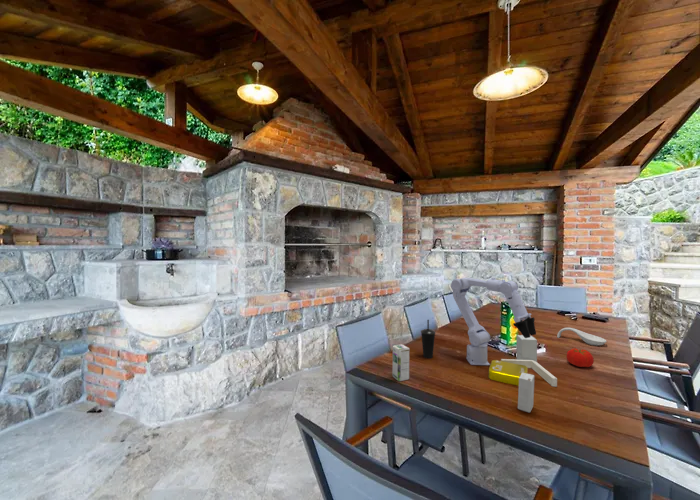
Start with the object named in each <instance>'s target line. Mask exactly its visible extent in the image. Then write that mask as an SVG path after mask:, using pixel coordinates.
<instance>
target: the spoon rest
mask: <svg viewBox="0 0 700 500" xmlns="http://www.w3.org/2000/svg"><path fill="white" fill-rule="evenodd" d="M564 331H571V332H573V333H574V334H577V336H578V337H579V338H580V339H581V340H582V341H583V342H585V344H587V345H591V346H595V347H596V346H602V345H605V344H606V343H607V339H605V338H603V337H601V336H597V335H594V334H591V333H587V332H584V331H582V330H579V329H577V328H574V327H563V328H561V329H560V330H559V331H558V332H557V335H556V336H557V337H556V338H559V339H560V337H561V336H562V332H564Z"/></svg>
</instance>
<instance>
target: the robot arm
mask: <svg viewBox="0 0 700 500" xmlns="http://www.w3.org/2000/svg"><path fill="white" fill-rule="evenodd" d="M474 286H475V287H482V288H486V289H487V291H491V292H497V293H501V294H502V295H504V297H505V299H506V301H507V303H508V305H509V308H510V310H511V312H512V314H513V317H514V318H513V321H514V323H513V327H515V329H517V330H518V331H519V332H520V333H521V335H523V336H524V337H525V338H529V337H530V336H535V335H537V331H536V325H535V317H531V315H532V313H528V311H527V308H526V306H525V304H524V302H523V300H522V297H521V295H520V292H519V291H518V289H519V285H518V284H517V282H515V281H513V280H508V281H506V280H505V279H496V277H491V278H489V279H487V280H486V279H481V278H474V277H461V278H454V279H453V280H451V283H450V288H451V290H452V295H453V296H452V297H453V299H454V301H455V303H456V305H457V308H458V309H459V311H460V312H461V315H462V317H463V319H464V321H465V324H466V325H467V327H468V330H467V335H468V338H469V339H468V340H469V342H470V344H467V345H466V358H465V359H466V360H467V362H468V363H469V364H470V365H471V366H490V365H491V363H489V361H488V344H489V342H490V341H491V335H490V333H489V332H488V331H487V330H486V329H485V327H484V326H482V325H481V324H479V321H478V319H477V317H476V315H475V313H474V312H473V310H472V308H471V306H470V303H469V302H468V299H467V298H466V295H467V293H468V291H469V290H470V289H471V287H474Z"/></svg>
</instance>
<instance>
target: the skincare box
mask: <svg viewBox="0 0 700 500" xmlns="http://www.w3.org/2000/svg"><path fill="white" fill-rule="evenodd" d="M517 392H518V395H517V397H518V398H517V409H518V410H520V411H522V412H526V413H531V411H532V409H533V407H534V398H535V397H534V395H535V375H534V374H531V373H522V374H521V376H520V377H519V386H518V391H517Z"/></svg>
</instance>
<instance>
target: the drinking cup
mask: <svg viewBox="0 0 700 500" xmlns="http://www.w3.org/2000/svg"><path fill="white" fill-rule="evenodd" d="M429 321H430V320H429V319H427V323H426V325H427V327H426V328H425V329H421V330H420V334H421V344H422V355H423V358H424V359H433V357H434V346H435V337H436V331H435V330H434V329H431V328H430V322H429Z"/></svg>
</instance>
